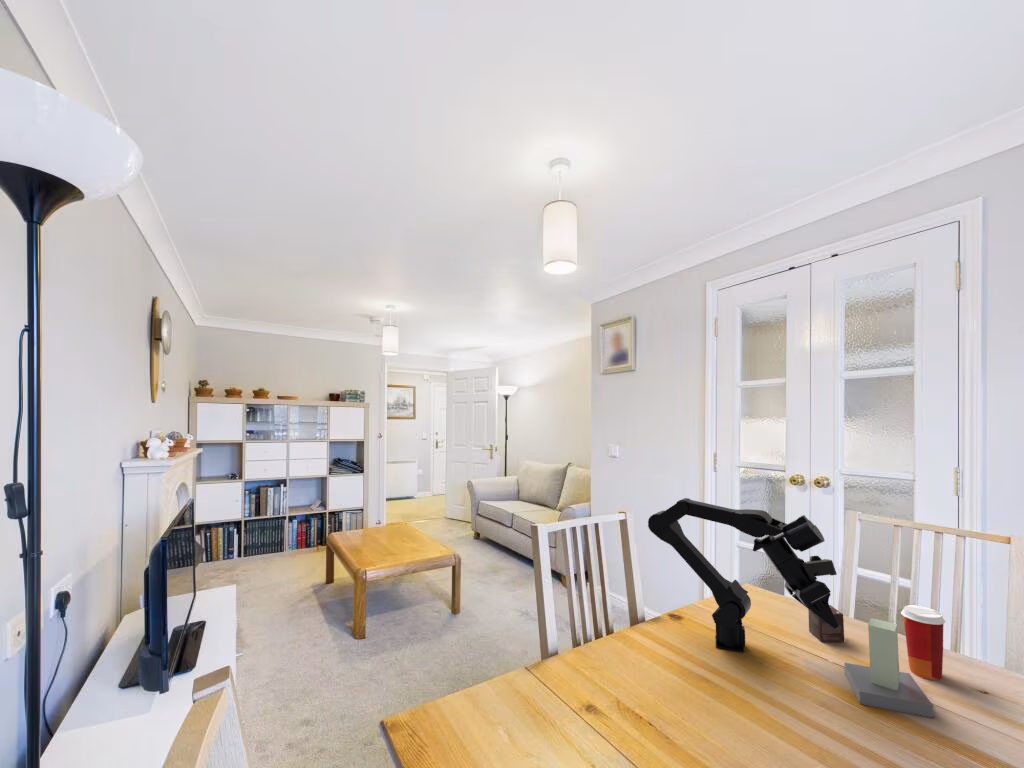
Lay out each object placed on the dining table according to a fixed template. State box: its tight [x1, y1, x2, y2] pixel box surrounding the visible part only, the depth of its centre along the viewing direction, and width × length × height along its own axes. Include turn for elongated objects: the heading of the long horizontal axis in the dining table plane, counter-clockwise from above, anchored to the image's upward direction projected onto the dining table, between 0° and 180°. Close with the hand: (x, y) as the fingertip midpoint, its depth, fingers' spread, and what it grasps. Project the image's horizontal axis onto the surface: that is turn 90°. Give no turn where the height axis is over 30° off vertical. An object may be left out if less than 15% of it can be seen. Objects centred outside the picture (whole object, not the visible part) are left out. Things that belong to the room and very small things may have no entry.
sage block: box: [867, 617, 900, 691], centre depth 102 cm, size 4×4×12 cm
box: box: [807, 604, 845, 643], centre depth 127 cm, size 6×6×7 cm
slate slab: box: [844, 662, 934, 718], centre depth 102 cm, size 12×12×2 cm
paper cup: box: [900, 604, 946, 681], centre depth 110 cm, size 8×8×14 cm
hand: (830, 623), depth 110 cm, fingers open, 9 cm apart
